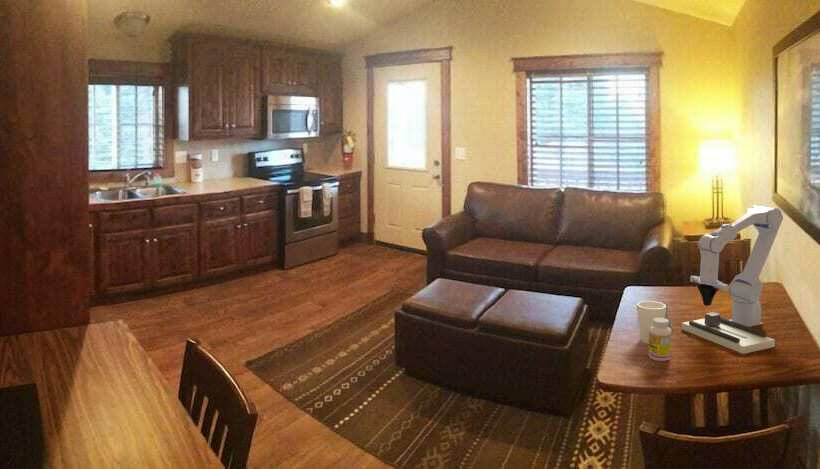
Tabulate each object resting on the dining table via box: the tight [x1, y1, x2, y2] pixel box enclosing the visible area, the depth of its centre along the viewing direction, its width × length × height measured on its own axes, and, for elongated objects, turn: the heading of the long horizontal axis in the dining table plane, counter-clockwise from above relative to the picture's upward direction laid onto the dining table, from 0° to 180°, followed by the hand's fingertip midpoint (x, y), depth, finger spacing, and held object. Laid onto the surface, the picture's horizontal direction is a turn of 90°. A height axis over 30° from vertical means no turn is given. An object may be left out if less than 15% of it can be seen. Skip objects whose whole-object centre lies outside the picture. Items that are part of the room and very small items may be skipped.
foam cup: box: [636, 300, 666, 345], centre depth 207 cm, size 10×9×13 cm
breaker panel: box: [681, 317, 776, 355], centre depth 208 cm, size 14×26×3 cm, turn 20°
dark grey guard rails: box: [688, 316, 768, 343], centre depth 207 cm, size 14×20×2 cm
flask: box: [660, 301, 674, 332], centre depth 217 cm, size 7×7×10 cm
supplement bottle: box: [648, 318, 673, 362], centre depth 192 cm, size 7×7×13 cm
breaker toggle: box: [704, 311, 721, 327], centre depth 212 cm, size 4×3×4 cm
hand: (707, 305), depth 214 cm, fingers closed
